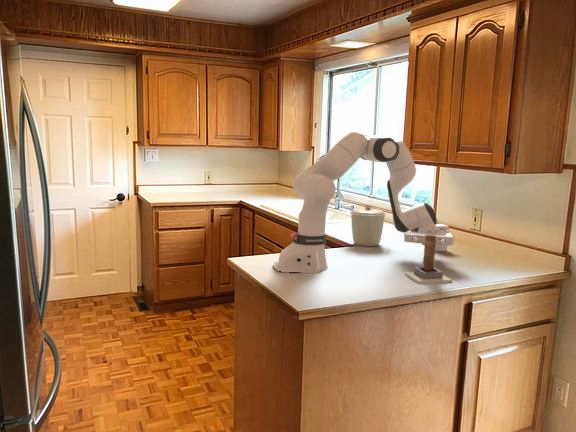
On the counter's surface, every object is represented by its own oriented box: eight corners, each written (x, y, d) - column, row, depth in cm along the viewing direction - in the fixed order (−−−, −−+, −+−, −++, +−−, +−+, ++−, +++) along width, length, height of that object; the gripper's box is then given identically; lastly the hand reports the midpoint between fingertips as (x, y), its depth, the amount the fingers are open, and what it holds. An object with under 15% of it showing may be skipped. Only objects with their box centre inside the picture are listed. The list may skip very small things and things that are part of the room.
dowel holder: (417, 283, 183) (418, 274, 182) (404, 274, 194) (404, 266, 194) (452, 282, 185) (452, 273, 185) (436, 273, 197) (437, 265, 196)
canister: (362, 239, 261) (364, 200, 258) (391, 245, 248) (393, 204, 245) (341, 243, 248) (343, 203, 245) (370, 250, 236) (372, 207, 232)
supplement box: (434, 252, 235) (436, 226, 233) (425, 248, 242) (427, 223, 240) (447, 251, 237) (449, 225, 235) (438, 247, 244) (440, 223, 242)
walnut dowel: (425, 277, 187) (428, 236, 185) (420, 274, 191) (423, 234, 189) (435, 277, 188) (438, 236, 186) (430, 274, 192) (432, 234, 190)
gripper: (404, 227, 215) (403, 232, 202) (453, 230, 210) (455, 236, 196) (403, 241, 216) (402, 247, 203) (452, 244, 211) (454, 251, 197)
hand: (429, 242), depth 199 cm, fingers open, 8 cm apart
